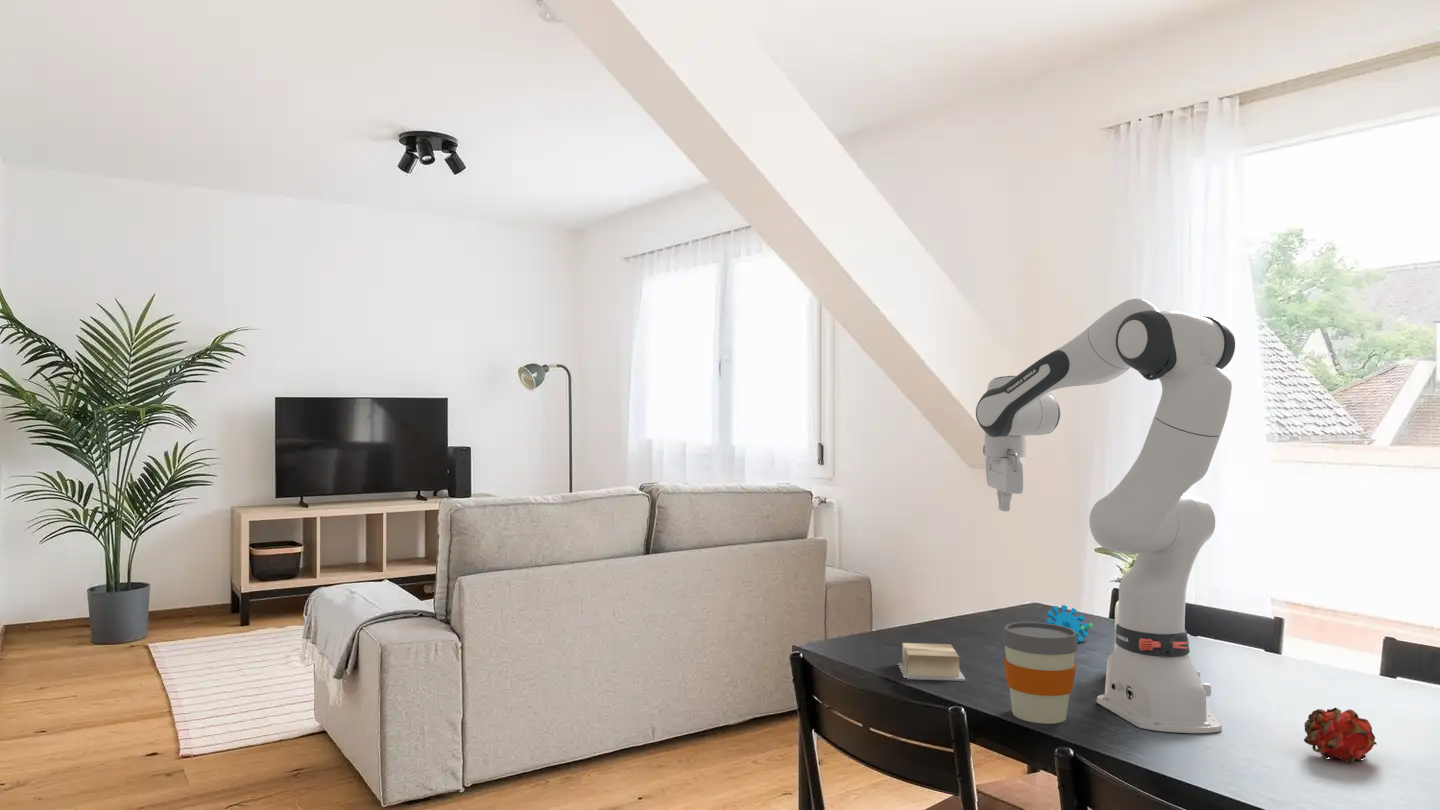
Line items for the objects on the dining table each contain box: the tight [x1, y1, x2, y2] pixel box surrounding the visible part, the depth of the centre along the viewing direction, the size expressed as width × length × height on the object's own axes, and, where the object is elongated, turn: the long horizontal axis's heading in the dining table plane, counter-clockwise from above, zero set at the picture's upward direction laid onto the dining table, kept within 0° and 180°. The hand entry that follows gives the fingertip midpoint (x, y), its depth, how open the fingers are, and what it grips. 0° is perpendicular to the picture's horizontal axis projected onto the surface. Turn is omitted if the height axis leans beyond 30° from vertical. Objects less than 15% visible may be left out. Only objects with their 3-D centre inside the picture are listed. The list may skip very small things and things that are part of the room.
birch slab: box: [901, 642, 960, 677], centre depth 195 cm, size 4×10×10 cm
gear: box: [1045, 604, 1094, 643], centre depth 225 cm, size 11×6×10 cm
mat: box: [897, 662, 967, 682], centre depth 194 cm, size 10×12×1 cm
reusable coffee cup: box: [1002, 621, 1079, 725], centre depth 168 cm, size 13×13×15 cm
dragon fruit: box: [1303, 707, 1378, 764], centre depth 149 cm, size 8×8×12 cm
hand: (1004, 510), depth 214 cm, fingers closed
